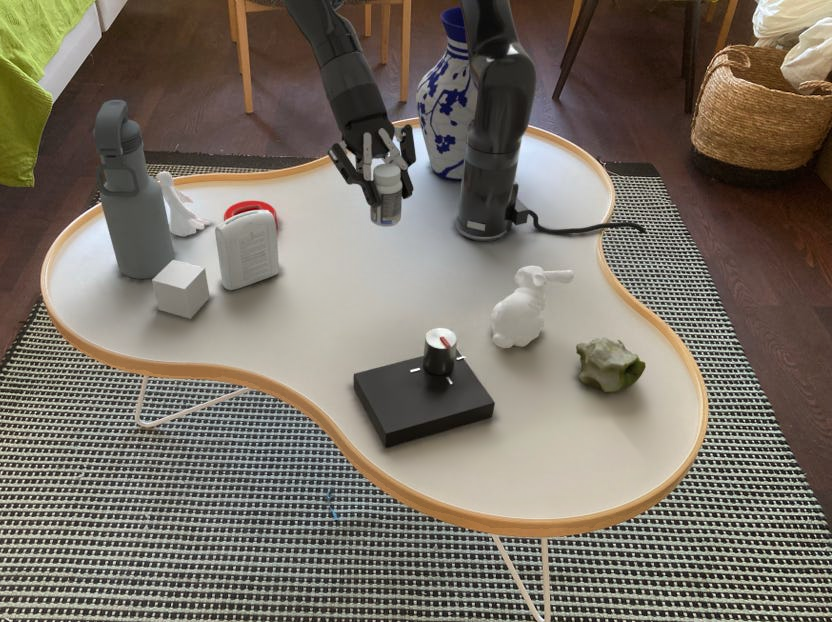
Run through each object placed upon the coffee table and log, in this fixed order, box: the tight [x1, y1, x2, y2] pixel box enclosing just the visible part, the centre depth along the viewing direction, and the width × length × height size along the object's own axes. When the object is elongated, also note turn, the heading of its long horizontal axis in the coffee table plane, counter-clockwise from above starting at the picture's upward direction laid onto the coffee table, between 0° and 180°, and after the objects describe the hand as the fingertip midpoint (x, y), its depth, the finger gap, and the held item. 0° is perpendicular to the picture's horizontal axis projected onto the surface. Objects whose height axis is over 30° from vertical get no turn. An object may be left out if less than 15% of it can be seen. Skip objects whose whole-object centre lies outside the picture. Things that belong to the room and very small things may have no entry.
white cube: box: [151, 259, 211, 320], centre depth 118 cm, size 6×6×6 cm
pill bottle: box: [369, 163, 403, 228], centre depth 110 cm, size 5×5×8 cm
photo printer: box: [214, 210, 280, 291], centre depth 121 cm, size 10×4×12 cm, turn 123°
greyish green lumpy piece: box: [575, 337, 646, 393], centre depth 105 cm, size 9×9×8 cm
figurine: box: [155, 170, 210, 237], centre depth 132 cm, size 8×8×12 cm
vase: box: [415, 6, 478, 182], centre depth 142 cm, size 19×19×30 cm
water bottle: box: [92, 99, 176, 280], centre depth 118 cm, size 10×10×28 cm
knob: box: [422, 327, 458, 375], centre depth 103 cm, size 4×4×5 cm
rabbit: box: [491, 265, 575, 349], centre depth 110 cm, size 12×9×12 cm
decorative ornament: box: [223, 200, 278, 232], centre depth 135 cm, size 10×10×3 cm
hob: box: [353, 348, 496, 449], centre depth 103 cm, size 16×14×3 cm
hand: (393, 201), depth 109 cm, fingers closed on pill bottle, 4 cm apart
